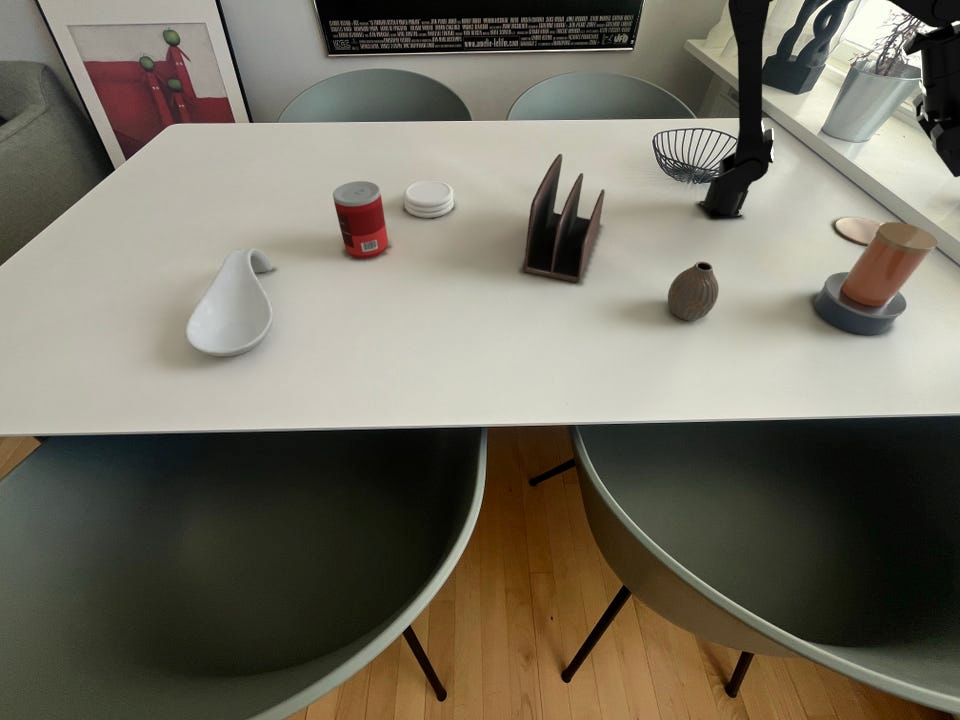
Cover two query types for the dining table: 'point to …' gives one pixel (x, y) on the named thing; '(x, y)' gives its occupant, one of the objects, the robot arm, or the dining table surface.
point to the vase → (693, 292)
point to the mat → (857, 229)
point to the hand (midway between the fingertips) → (951, 164)
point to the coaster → (428, 199)
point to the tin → (855, 309)
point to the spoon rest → (232, 308)
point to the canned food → (361, 219)
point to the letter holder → (559, 230)
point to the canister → (887, 263)
